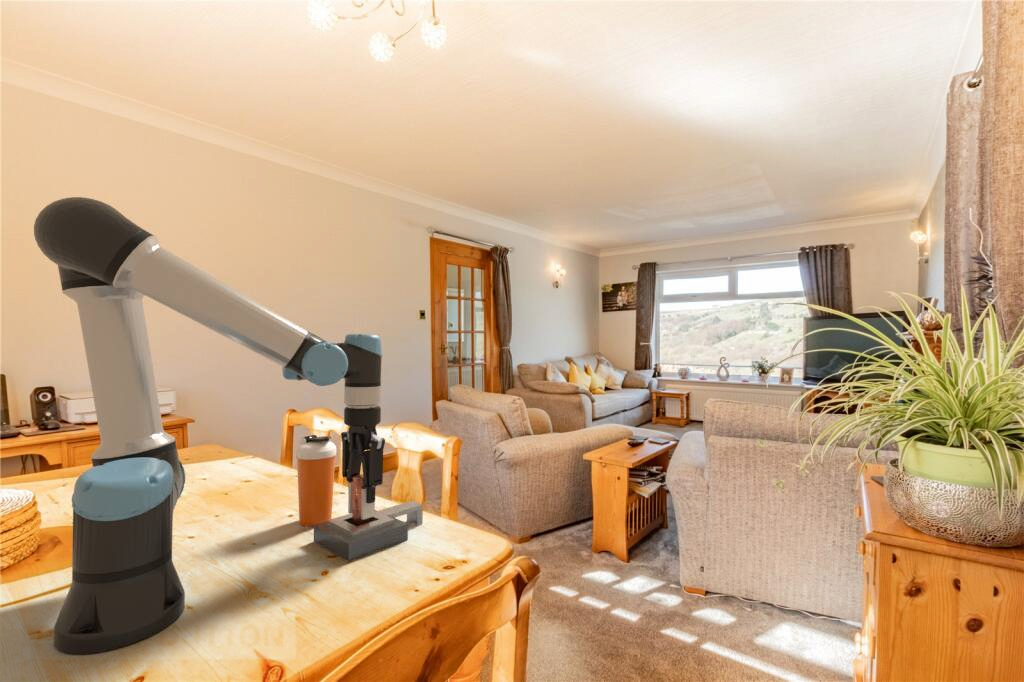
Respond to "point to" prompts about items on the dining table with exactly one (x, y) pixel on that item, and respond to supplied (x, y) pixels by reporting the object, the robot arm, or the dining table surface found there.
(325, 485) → the shaker bottle
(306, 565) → the dining table surface
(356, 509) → the copper cylinder
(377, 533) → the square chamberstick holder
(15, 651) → the dining table surface
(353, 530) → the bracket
